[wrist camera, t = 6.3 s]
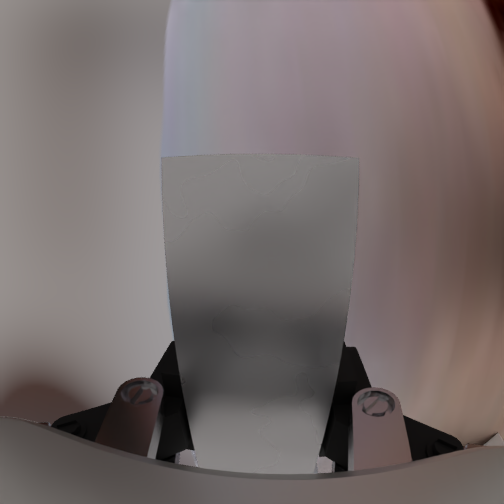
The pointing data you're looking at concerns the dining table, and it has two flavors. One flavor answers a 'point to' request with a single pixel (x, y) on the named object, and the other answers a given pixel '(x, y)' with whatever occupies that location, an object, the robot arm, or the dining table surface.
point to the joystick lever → (259, 300)
